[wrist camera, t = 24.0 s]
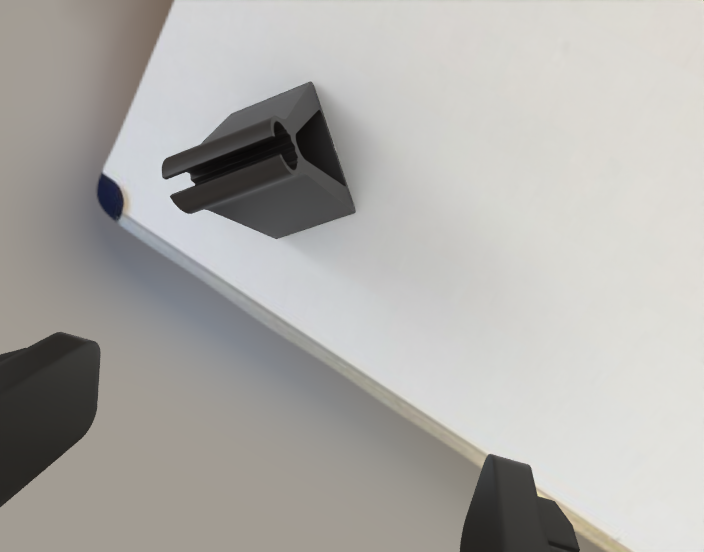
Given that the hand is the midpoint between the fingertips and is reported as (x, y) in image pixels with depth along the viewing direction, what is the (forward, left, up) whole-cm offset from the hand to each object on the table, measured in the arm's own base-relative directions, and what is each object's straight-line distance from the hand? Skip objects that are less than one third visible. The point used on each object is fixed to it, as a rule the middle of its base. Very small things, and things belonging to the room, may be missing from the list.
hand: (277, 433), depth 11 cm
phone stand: (-9, +3, -27) cm, 28 cm away
